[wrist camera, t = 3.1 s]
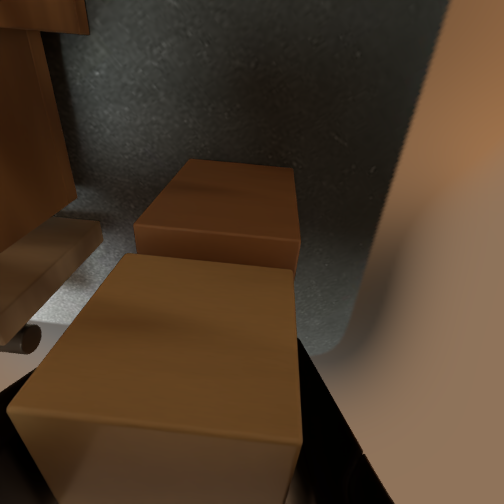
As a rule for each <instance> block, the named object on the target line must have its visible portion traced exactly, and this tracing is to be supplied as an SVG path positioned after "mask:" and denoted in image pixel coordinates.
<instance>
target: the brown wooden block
mask: <svg viewBox="0 0 504 504" xmlns="http://www.w3.org/2000/svg"><path fill="white" fill-rule="evenodd" d="M133 227H134V235H135V242H136V249H137V254H142V255H152V256H162V257H172V258H182V259H192V260H202V261H211V262H221V263H231V264H241V265H251V266H261V267H271V268H281V269H290V270H292V271H293V277H294V279H295V274H296V268H297V262H298V257H299V251H300V245H301V236H300V227H299V217H298V208H297V198H296V189H295V179H294V170H293V168H286V167H275V166H265V165H254V164H243V163H233V162H222V161H211V160H201V159H189V160H188V161H187V162H186V163H185V165H184V166H183V167H182V168H181V169H180V170H179V172H178V173H177V174H176V175H175V176H174V177H173V178H172V180H171V181H170V182H169V183H168V184H167V185H166V187H165V188H164V189H163V190H162V191H161V192H160V194H159V195H158V196H157V197H156V198H155V199H154V201H153V202H152V203H151V204H150V205H149V206H148V208H147V209H146V210H145V211H144V212H143V213H142V215H141V216H140V217H139V218H138V219H137V220H136V221H135V223H134V225H133Z"/></svg>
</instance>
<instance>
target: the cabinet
mask: <svg viewBox="0 0 504 504" xmlns="http://www.w3.org/2000/svg"><path fill="white" fill-rule="evenodd" d="M0 28H12V29H23V30H34V31H44V32H56V33H68V34H80V35H89V34H90V33H89V27H88V20H87V14H86V8H85V2H84V0H0Z"/></svg>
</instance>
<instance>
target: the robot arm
mask: <svg viewBox="0 0 504 504" xmlns="http://www.w3.org/2000/svg"><path fill="white" fill-rule="evenodd" d="M297 347H298V365H299V382H300V400H301V417H302V434H303V443H302V446H301V450H300V453H299V457H298V460H297V464H296V467H295V471H294V474H293V478H292V481H291V485H290V488H289V492H288V495H287V499H286V502H285V504H394V502H393V500H392V499H391V497H390V496H389V495H388V493H387V491H386V489H385V488H384V486H383V484H382V483H381V481H380V479H379V478H378V476H377V474H376V473H375V471H374V469H373V467H372V466H371V464H370V462H369V460H368V459H367V457H366V455H365V454H362V453H363V450H362V448H361V446H360V445H359V443H358V441H357V439H356V438H355V436H354V434H353V432H352V431H351V429H350V427H349V425H348V424H347V422H346V420H345V419H344V417H343V415H342V413H341V411H340V410H339V408H338V406H337V404H336V403H335V401H334V399H333V397H332V396H331V394H330V392H329V390H328V389H327V387H326V385H325V383H324V382H323V380H322V378H321V376H320V374H319V373H318V371H317V369H316V367H315V366H314V364H313V362H312V360H311V359H310V357H309V355H308V353H307V352H306V350H305V348H304V346H303V345H302V343H301V341H300V339H298V338H297ZM35 370H36V368H35V369H34V370H32V371H31V372H29V373H28V374H26V375H25V376H24V377H22V378H21V379H19V380H18V381H16V382H15V383H13V384H12V385H10V386H9V387H7V388H6V389H4V390H3V391H2V392H0V504H58V502H57V501H56V499H55V497H54V495H53V494H52V492H51V490H50V488H49V486H48V485H47V483H46V481H45V479H44V478H43V476H42V474H41V472H40V471H39V469H38V467H37V465H36V463H35V462H34V460H33V458H32V456H31V455H30V453H29V451H28V449H27V447H26V446H25V444H24V442H23V440H22V439H21V437H20V435H19V433H18V432H17V430H16V428H15V426H14V424H13V423H12V421H11V419H10V417H9V416H8V414H7V412H6V411H7V407H8V405H9V403H10V402H11V401H12V399H13V398H14V397H15V396H16V394H17V393H18V392H19V390H20V389H21V388H22V386H23V385H24V384H25V383H26V381H27V380H28V379H29V377H30V376H31V375H32V373H33V372H34V371H35Z"/></svg>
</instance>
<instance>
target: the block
mask: <svg viewBox="0 0 504 504" xmlns="http://www.w3.org/2000/svg"><path fill="white" fill-rule="evenodd" d="M6 412H7V414H8V416H9V417H10V419H11V421H12V423H13V424H14V426H15V428H16V430H17V432H18V433H19V435H20V437H21V439H22V440H23V442H24V444H25V446H26V447H27V449H28V451H29V453H30V455H31V456H32V458H33V460H34V462H35V463H36V465H37V467H38V469H39V471H40V472H41V474H42V476H43V478H44V479H45V481H46V483H47V485H48V486H49V488H50V490H51V492H52V494H53V495H54V497H55V499H56V501H57V502H58V504H285V502H286V499H287V495H288V492H289V488H290V485H291V481H292V478H293V474H294V471H295V467H296V464H297V460H298V457H299V453H300V450H301V446H302V443H303V434H302V417H301V400H300V382H299V365H298V347H297V330H296V312H295V295H294V277H293V271H292V270H290V269H281V268H271V267H261V266H251V265H241V264H231V263H221V262H211V261H202V260H192V259H182V258H172V257H162V256H152V255H142V254H133V253H126V254H124V256H123V257H122V258H121V260H120V261H119V262H118V263H117V265H116V266H115V267H114V269H113V270H112V271H111V272H110V274H109V275H108V276H107V278H106V279H105V280H104V282H103V283H102V284H101V285H100V287H99V288H98V289H97V291H96V292H95V293H94V294H93V296H92V297H91V298H90V300H89V301H88V302H87V304H86V305H85V306H84V307H83V309H82V310H81V311H80V313H79V314H78V315H77V317H76V318H75V319H74V320H73V322H72V323H71V324H70V326H69V327H68V328H67V330H66V331H65V332H64V333H63V335H62V336H61V337H60V339H59V340H58V341H57V342H56V344H55V345H54V346H53V348H52V349H51V350H50V352H49V353H48V354H47V355H46V357H45V358H44V359H43V361H42V362H41V363H40V364H39V366H38V367H37V368H36V370H35V371H34V372H33V373H32V375H31V376H30V377H29V379H28V380H27V381H26V383H25V384H24V385H23V386H22V388H21V389H20V390H19V392H18V393H17V394H16V396H15V397H14V398H13V399H12V401H11V402H10V403H9V405H8V407H7V411H6Z"/></svg>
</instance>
